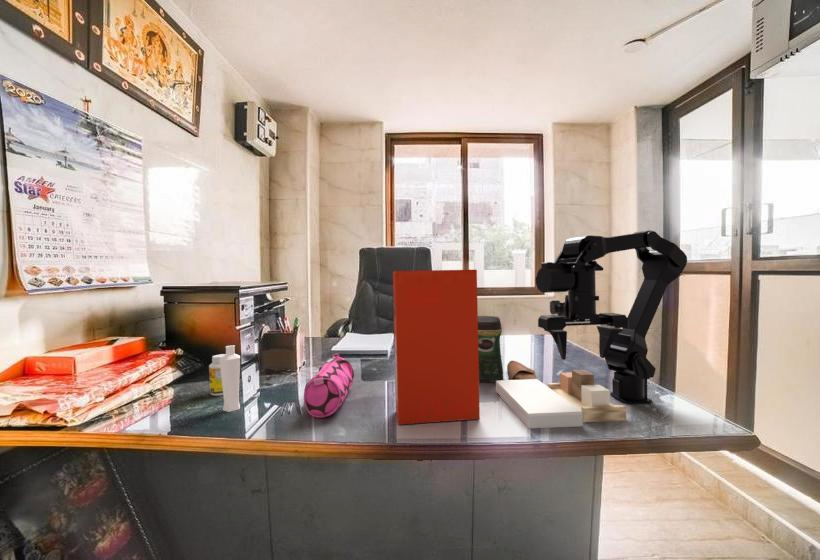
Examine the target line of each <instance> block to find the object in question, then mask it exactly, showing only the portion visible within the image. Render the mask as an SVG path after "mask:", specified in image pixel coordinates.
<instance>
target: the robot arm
mask: <svg viewBox="0 0 820 560" xmlns="http://www.w3.org/2000/svg"><path fill="white" fill-rule="evenodd" d="M649 248H651V250H649ZM627 250H635V254H636V258H637V259H638V260H639V261H640V262H641V263H642V264H641V265H642V266H641V271H642V275H643V281H642V283H641V286H640V287H639V290H638V292H637V295H636V297H635V299H634V302H633V304H632V306H631V308H630V311H629V313H628V314H627V315H626V314H621V313H614V312H602V313H601V312H600V313H597V303H596V302H597V301H600V295H597V294H596V292H597V288H596V272H602V271H604V267H603V266H601V265H600V264H599V263H598V262H597V260H598V259H602V258H604V257H605V256H606V255H608V254H610V253H616V252H622V251H627ZM687 263H688V256H687V255H686V253H685V252H684V251H683V250H682V249H681V248H680V247H679V246H678V245H677V244H676V243H674V242H671V241H670V240H668V239H665V238H663V237H661V236H660V234H658V233H657V232H656V231H655V230H651V229H650V230H641V231H635V232H633V233H629V234H622V235H615V236H601V235H584V236H576V237H570V238H568V239H566V240H565V242H564V244H563V247H562V249H561V251H560V252H559V254H558V256H557V257H556V259H555V260H554V262H553V261H550V262H549V261H548V262H541V263H540V265H541V266H540V267H541V268H540V269H538V272H537V273H536V277H535V284H536V287H537V290H539V292H540V293H543V294H546V293H547V294H548V293H565V292H567V294H566V295H565V297H564V302H561V301H560V300H551V301H550V302H549V312H550V314H541V315H540V316H539V317H538V320H537V326H538V327H539V328H541V329H543V330H544V332H547V333H549V335H550V336H551V337H552V339H553V341H554V343H555V345H556V347H557V350H558V353H559V356H560V358H561V360H563V361H565V360H566V356H567V341H568V340H567V339H568V332H567V331H566V330H564V329H565V328H566V327H569V326H571V327H572V326H596V329H597V331H598V333H599V334H598V335H599V337H598V338H599V342H598V344H599V345H598V347H599V349H598V350H599V358H601V359H604V360H605V363H606V365H607V368H608V371H613V378H612V383H611V384H612V392H611V391H610V396H612V397H614V398H616V399H618V400H619V401H621V402H622V403H625V404H646V403H648V404H649V403H653V399H650V398H648V380H650V379H651V378H654V377H655V373H656V367H655V366H654V365H653V364H652V362H651V361H650V360H649V359H648V358H647V355H648V353H649V352H648V351H649V349H648V345H647V342H646V341H647V340H646V336H647V335H648V331H649V329H650V326H651V325H652V322H653V320H654V317H655V316H656V313H657V310H658V308H659V306H660V304H661V301H662V299H663V297H664V294H665V292H666V290H667V287H668V286H669V285H670V284H671V283H672V282H674V281H675V280H677V279H678V278H680V277H681V274H682V273H683V271H684V270H685V268H686V266H687V265H688V264H687Z"/></svg>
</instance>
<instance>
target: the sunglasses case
mask: <svg viewBox="0 0 820 560" xmlns="http://www.w3.org/2000/svg"><path fill="white" fill-rule="evenodd" d="M506 368H507V369H506V370H507V374H508V375H507V376H508V380H526V379H538V377H537V375H536V373H535V370H534V369H532V368H530V367H527V366H526V365H524V364H522V363H521V362H518V361H516V360H510V361H509V362H508V364H507V365H506Z"/></svg>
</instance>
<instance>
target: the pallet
mask: <svg viewBox="0 0 820 560" xmlns="http://www.w3.org/2000/svg"><path fill="white" fill-rule="evenodd" d="M571 372H572V394H567V393H566V392H564V391H563V390H561V389H560V382H547V387H549V388H550V389H552V390H553V391H554V392H556V393H557V394H559V395H560V396H561V397H563V398H564V399H566V400H567V401H568V402H570V403H571V404H573V405H574V406H575V407H577V408H578V409H579V410H581V411H582V423H583V422H584V423H589V422H590V423H593V422H594V423H595V422H613V421H614V422H616V421H617V422H618V421H619V422H620V421H627V406H625V405H624V404H614V403H613V402H611V401H610V405H609V406H585V405H584V404H582V396H581V385H595V374H593V373H592V372H590V371H588V370H586V369H571Z"/></svg>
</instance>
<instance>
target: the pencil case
mask: <svg viewBox="0 0 820 560" xmlns="http://www.w3.org/2000/svg"><path fill="white" fill-rule="evenodd" d="M354 378H355V372H354V368H353V366H352V364H351V362H350V361H348V360H347V359H346V358H345V359H344V358H343V357H340V354H339V353H333V354H331V358H329V359H328V360H327V361H325V363H324V364H323V365H321V366H319V367H318V372H317V373H316V375H314V376H313V377H311V378H310V379H309V381H308V382H307V383H306V384H305V386H304V390H303V402H304V406H305V407H304V408H305V409H306V411H307V412H308V413H309V415H310V416H311V417H315V418H321V419H322V418H328V417H329V416H331V415H333V414H334V413H335V412H337V410H338V409H339V408H340V407H341V405H342V403H343V402H344V400H345V399H346V397H347V395H348V394H349V392H350V389H351V387H352V386H353V384H354Z"/></svg>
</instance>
